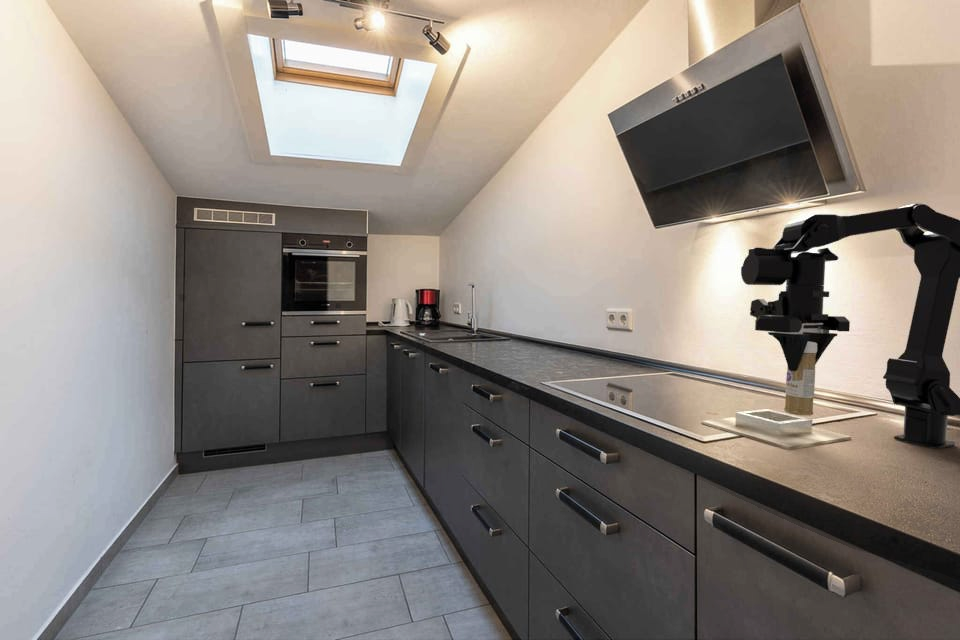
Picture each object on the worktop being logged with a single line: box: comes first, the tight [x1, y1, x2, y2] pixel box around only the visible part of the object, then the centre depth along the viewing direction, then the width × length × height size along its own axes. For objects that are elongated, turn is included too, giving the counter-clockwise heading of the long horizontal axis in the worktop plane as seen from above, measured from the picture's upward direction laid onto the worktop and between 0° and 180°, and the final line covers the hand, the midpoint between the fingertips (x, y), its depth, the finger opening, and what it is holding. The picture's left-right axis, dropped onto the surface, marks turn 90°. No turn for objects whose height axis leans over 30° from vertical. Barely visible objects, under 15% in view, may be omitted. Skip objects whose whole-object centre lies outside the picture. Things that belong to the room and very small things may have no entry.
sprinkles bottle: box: [783, 341, 817, 417], centre depth 85 cm, size 5×5×14 cm
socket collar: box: [735, 408, 813, 437], centre depth 91 cm, size 9×9×2 cm
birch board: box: [701, 416, 852, 451], centre depth 91 cm, size 18×18×1 cm
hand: (800, 370), depth 85 cm, fingers closed on sprinkles bottle, 4 cm apart
